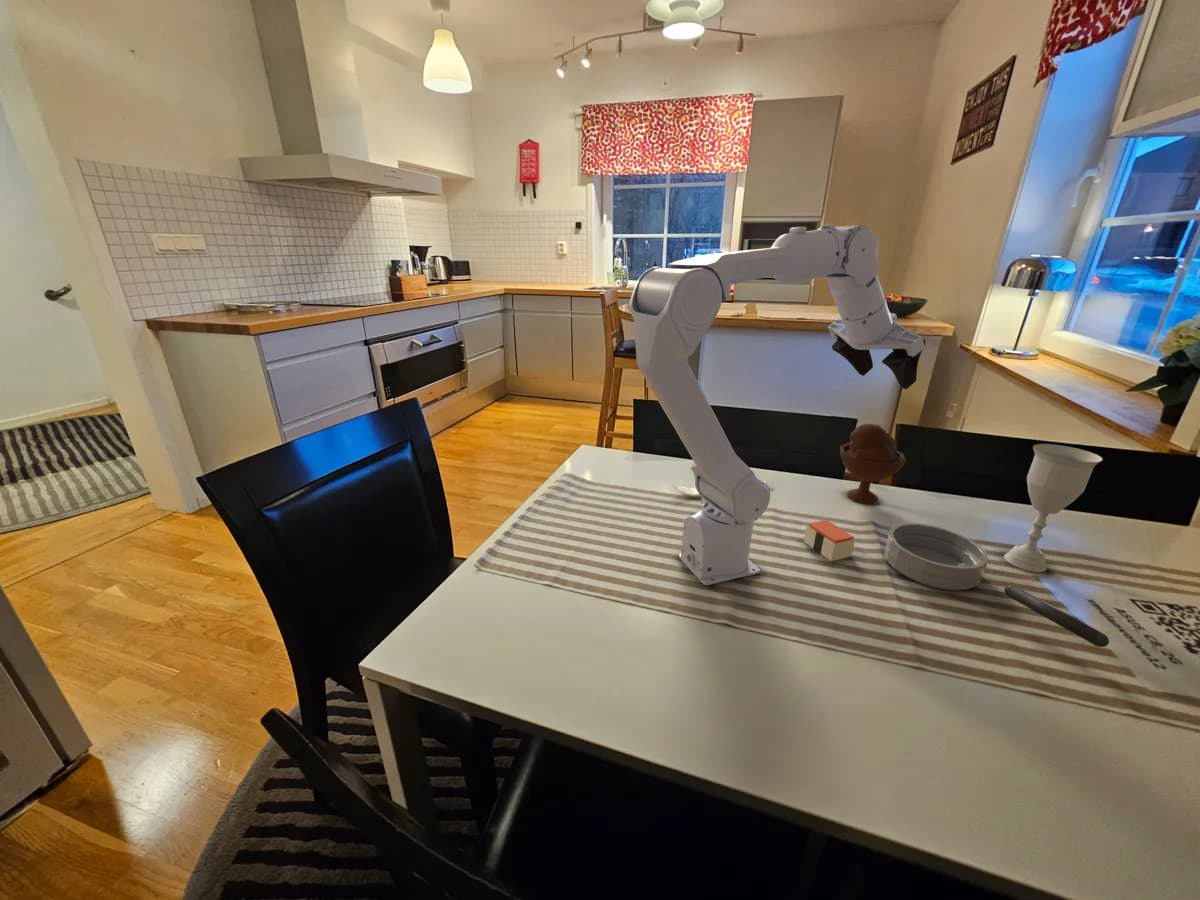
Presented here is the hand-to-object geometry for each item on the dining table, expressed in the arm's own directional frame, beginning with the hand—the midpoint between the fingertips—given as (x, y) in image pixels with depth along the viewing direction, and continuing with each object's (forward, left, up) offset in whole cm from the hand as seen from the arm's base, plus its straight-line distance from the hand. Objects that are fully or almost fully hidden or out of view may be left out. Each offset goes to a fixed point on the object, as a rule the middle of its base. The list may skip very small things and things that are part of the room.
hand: (887, 377), depth 75 cm
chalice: (+17, -17, -26) cm, 35 cm away
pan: (+2, -13, -26) cm, 29 cm away
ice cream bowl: (+11, +8, -26) cm, 30 cm away
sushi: (-9, -4, -26) cm, 28 cm away
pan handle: (+2, -28, -24) cm, 37 cm away
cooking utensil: (-20, +21, -26) cm, 38 cm away
